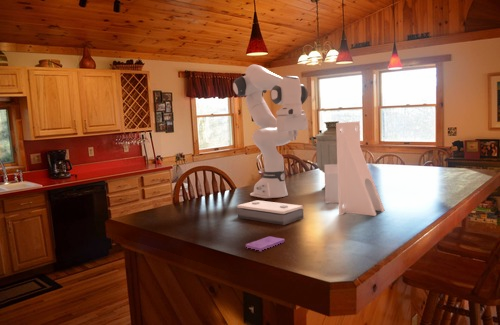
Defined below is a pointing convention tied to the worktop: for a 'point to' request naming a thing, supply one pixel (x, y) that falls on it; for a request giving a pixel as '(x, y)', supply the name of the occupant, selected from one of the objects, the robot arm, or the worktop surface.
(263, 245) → the sponges
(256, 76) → the robot arm
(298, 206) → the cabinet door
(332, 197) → the milk carton
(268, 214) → the shallow grey box
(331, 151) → the samovar
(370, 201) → the white bracket plate
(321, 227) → the worktop surface
